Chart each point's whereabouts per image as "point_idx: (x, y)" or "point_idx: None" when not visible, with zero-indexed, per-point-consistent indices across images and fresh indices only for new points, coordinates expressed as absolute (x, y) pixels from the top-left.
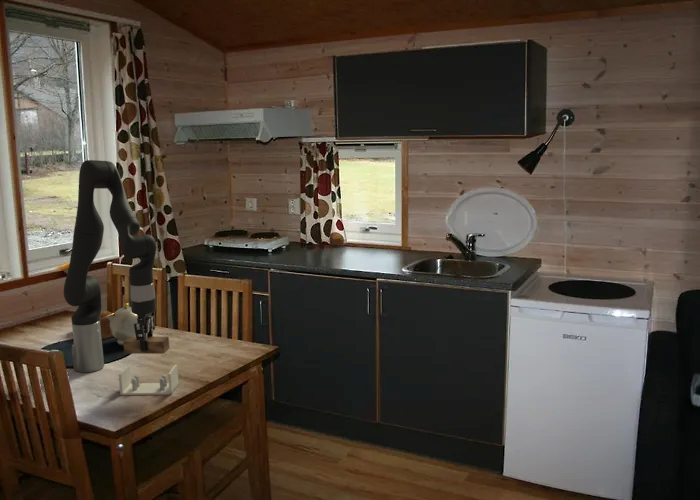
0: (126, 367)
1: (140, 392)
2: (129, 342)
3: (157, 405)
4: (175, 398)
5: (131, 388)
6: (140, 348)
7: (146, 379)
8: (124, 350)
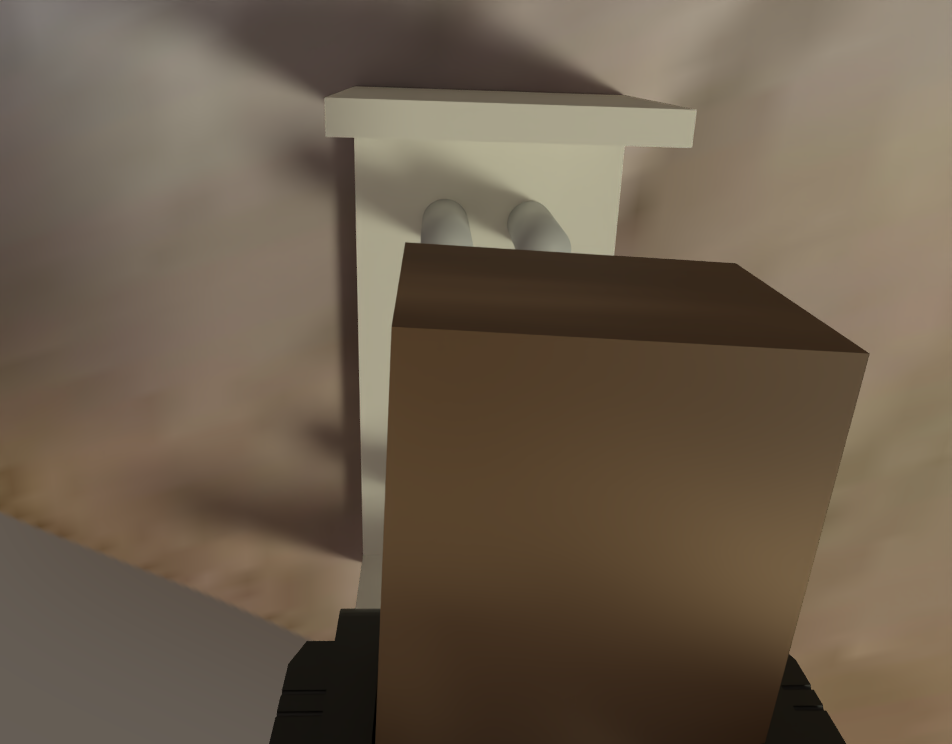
0: (603, 128)
1: (369, 302)
2: (386, 487)
3: (132, 508)
4: (283, 606)
5: (480, 174)
6: (337, 642)
7: (757, 243)
8: (402, 268)
